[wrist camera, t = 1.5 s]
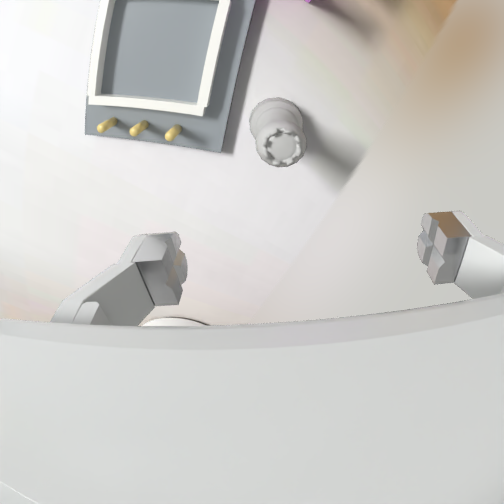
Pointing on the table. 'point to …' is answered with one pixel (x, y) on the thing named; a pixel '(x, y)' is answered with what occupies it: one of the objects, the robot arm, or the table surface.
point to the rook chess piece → (278, 132)
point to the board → (166, 70)
